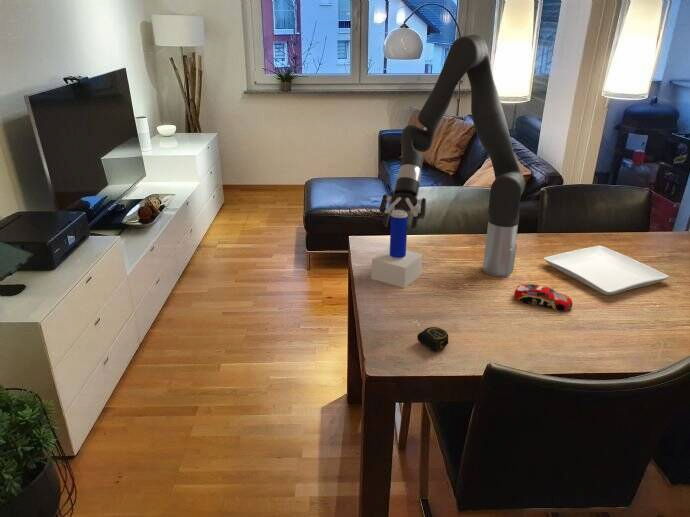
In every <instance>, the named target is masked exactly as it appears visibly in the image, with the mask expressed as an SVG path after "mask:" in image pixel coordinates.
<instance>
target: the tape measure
mask: <svg viewBox="0 0 690 517" xmlns="http://www.w3.org/2000/svg"><path fill="white" fill-rule="evenodd" d="M416 339H417V341H418V342H419V343H420V344H422V345H424V346H426V347H427V348H428V349H430V350H431V351H433V352H434V353H437V352H439V351H440V350H443V349H444V348H446V347H447V345H448V344H449V334H448V332H447V331H446V330H445V329H443V328H441V327H438V326H430V327H426V328H425V329H423V331H421V332H419V333H418V334H417V338H416Z"/></svg>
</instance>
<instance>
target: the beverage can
mask: <svg viewBox="0 0 690 517" xmlns="http://www.w3.org/2000/svg"><path fill="white" fill-rule="evenodd" d="M408 217H409V216H408V212H406V211H404V210H394V211H392V214H391V215H390V232H389V233H390V236H389V247H390V256H391V257H392V258H394V259H403V258H404V257H405V256H406V251H407V239H408V237H407V236H408V222H409V221H408V219H409V218H408Z"/></svg>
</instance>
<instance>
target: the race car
mask: <svg viewBox="0 0 690 517" xmlns="http://www.w3.org/2000/svg"><path fill="white" fill-rule="evenodd" d="M513 294H514V295H513V297H514V299H515V300H517V301H518V302H521V303H522V304H525V305H529V304H530V305H533V306H538V307H542V308H547V309H552V310H556V311H558V312H561V313H563V312H565V311H569V310H570V309H572V308H573V305H574V304H573V300H572V298H570V296H568V295H566V294H565V293H561V292H558V291H556V290H554V288H551V287H548V286H546V285H542V284H535V283H534V284H532V283H528V284H518V286H517V287H516V289H515V291H514V293H513Z"/></svg>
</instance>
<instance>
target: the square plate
mask: <svg viewBox="0 0 690 517" xmlns="http://www.w3.org/2000/svg"><path fill="white" fill-rule="evenodd" d="M543 260H545V262H546V263H547V264H548V265H550V266H551V267H552V268H554V269H557V270H558V271H560V272H562V273H563V274H566V275H567V276H569V277H571V278H573V279H575V280H577V281H578V282H580V283H583V284H584V285H585V286H588V287H590V288H591V289H593V290H595V291H597V292H599V293H601V294H604V295H605V296H610V295H616V294H618V293H622V292H625V291H629V290H633V289H637V288H641V287H642V288H643V287H646V286H651V285H654V284H658V283H660V282H661V283H662V282H664V281H666V280H668V279H669V278H670V276H669V275H668V274H665V273H664V272H661V271H659V270H657V269H655V268H653V267H651V266H649V265H647V264H644V263H642V262H641V261H637V260H635V259H633V258H632V257H630V256H627V255H625V254H623V253H619V252H617V251H616V250H612V249H611V248H608V247H605V246H602V245H594V246H590V247H585V248H580V249H575V250H569V251H567V252H562V253H558V254H554V255H550V256H545V257H543Z"/></svg>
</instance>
